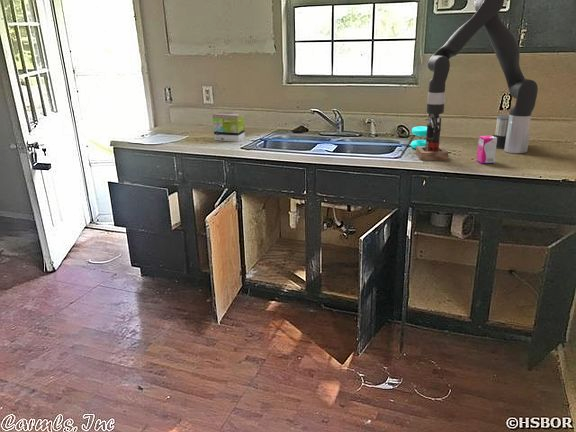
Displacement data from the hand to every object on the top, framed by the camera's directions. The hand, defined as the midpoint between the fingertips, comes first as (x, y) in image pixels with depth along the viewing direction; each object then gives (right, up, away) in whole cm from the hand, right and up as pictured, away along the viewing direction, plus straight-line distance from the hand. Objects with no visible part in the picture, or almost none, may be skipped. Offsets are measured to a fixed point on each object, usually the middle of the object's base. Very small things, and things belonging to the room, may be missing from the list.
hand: (433, 138), depth 217 cm
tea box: (-99, +7, +50) cm, 112 cm away
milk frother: (+39, 0, +21) cm, 44 cm away
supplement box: (+20, -12, -8) cm, 25 cm away
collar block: (0, -8, +3) cm, 9 cm away
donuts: (0, -2, +20) cm, 20 cm away
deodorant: (0, -8, +3) cm, 9 cm away
